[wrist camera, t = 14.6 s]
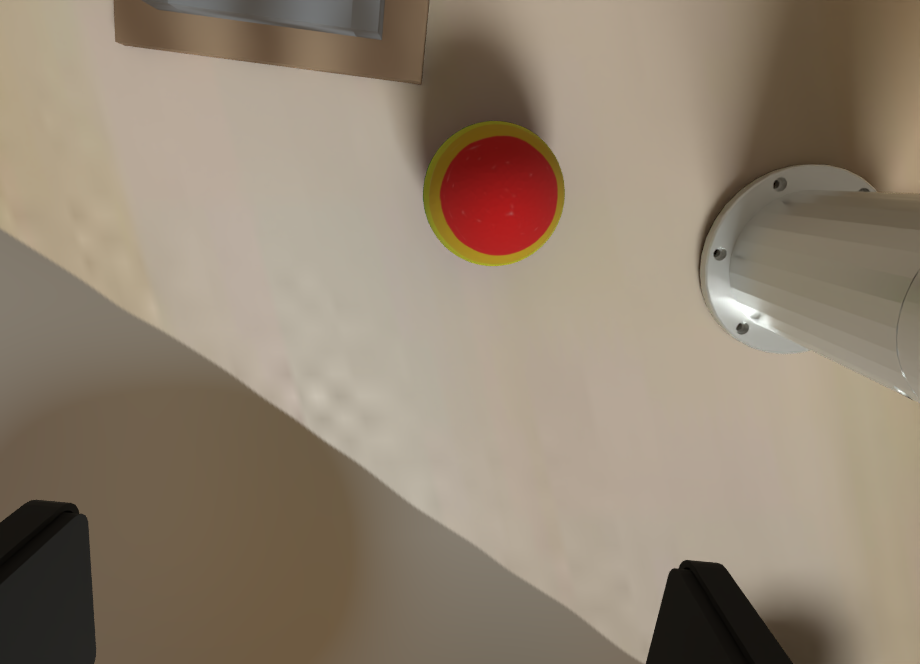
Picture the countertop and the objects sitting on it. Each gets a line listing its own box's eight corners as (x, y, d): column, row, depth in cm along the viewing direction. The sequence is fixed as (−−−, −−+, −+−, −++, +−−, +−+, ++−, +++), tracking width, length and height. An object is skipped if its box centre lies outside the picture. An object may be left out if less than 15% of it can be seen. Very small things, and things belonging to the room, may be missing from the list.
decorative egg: (461, 276, 38) (465, 310, 29) (403, 164, 36) (386, 161, 27) (570, 220, 37) (612, 236, 28) (518, 103, 35) (543, 76, 26)
